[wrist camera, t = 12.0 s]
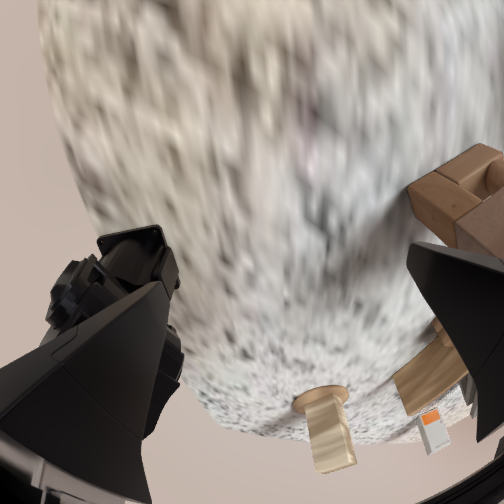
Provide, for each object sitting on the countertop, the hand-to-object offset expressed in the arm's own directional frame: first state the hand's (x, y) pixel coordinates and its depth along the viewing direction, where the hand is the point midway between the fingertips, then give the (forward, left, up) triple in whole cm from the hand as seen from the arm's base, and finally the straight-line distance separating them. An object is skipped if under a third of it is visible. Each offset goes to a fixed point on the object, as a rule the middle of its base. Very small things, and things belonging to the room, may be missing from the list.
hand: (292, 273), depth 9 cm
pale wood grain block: (+5, -36, -12) cm, 38 cm away
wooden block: (+18, -2, -13) cm, 22 cm away
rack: (+21, -26, -13) cm, 36 cm away
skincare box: (+36, -64, -13) cm, 75 cm away
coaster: (+5, -36, -13) cm, 39 cm away
